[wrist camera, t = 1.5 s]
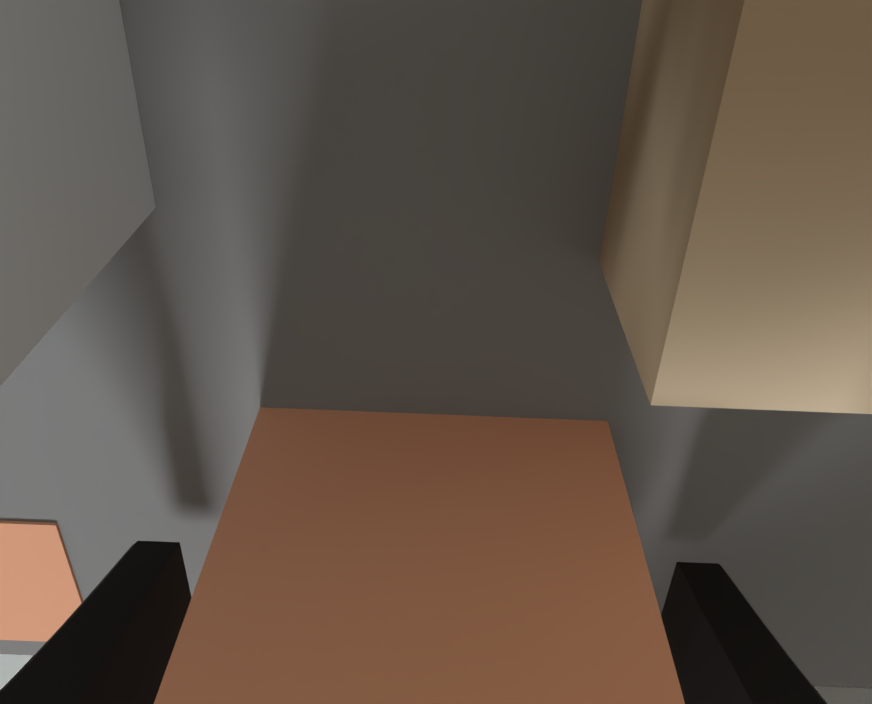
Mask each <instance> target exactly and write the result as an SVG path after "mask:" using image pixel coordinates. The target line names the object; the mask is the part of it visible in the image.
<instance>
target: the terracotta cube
mask: <svg viewBox="0 0 872 704" xmlns="http://www.w3.org/2000/svg"><path fill="white" fill-rule="evenodd" d="M154 704H685V702H684V698H683V694H682V691H681V687H680V683H679V680H678V676H677V672H676V669H675V665H674V661H673V658H672V654H671V650H670V647H669V643H668V639H667V636H666V632H665V629H664V625H663V621H662V618H661V614H660V610H659V607H658V603H657V599H656V596H655V592H654V588H653V585H652V581H651V577H650V574H649V570H648V566H647V563H646V559H645V555H644V552H643V548H642V545H641V541H640V537H639V534H638V530H637V526H636V523H635V519H634V515H633V512H632V508H631V504H630V501H629V497H628V493H627V490H626V486H625V482H624V479H623V475H622V471H621V468H620V464H619V461H618V457H617V453H616V450H615V446H614V442H613V439H612V435H611V431H610V428H609V424H608V421H592V420H567V419H542V418H517V417H491V416H466V415H441V414H416V413H390V412H365V411H340V410H315V409H289V408H264V407H260V409H259V411H258V414H257V417H256V420H255V423H254V425H253V428H252V431H251V434H250V436H249V439H248V442H247V445H246V448H245V450H244V453H243V456H242V459H241V462H240V464H239V467H238V470H237V473H236V476H235V478H234V481H233V484H232V487H231V489H230V492H229V495H228V498H227V501H226V503H225V506H224V509H223V512H222V515H221V517H220V520H219V523H218V526H217V528H216V531H215V534H214V537H213V540H212V542H211V545H210V548H209V551H208V554H207V556H206V559H205V562H204V565H203V568H202V570H201V573H200V576H199V579H198V581H197V584H196V587H195V590H194V593H193V595H192V598H191V601H190V604H189V607H188V609H187V612H186V615H185V618H184V621H183V623H182V626H181V629H180V632H179V634H178V637H177V640H176V643H175V646H174V648H173V651H172V654H171V657H170V660H169V662H168V665H167V668H166V671H165V674H164V676H163V679H162V682H161V685H160V687H159V690H158V693H157V696H156V699H155V701H154Z"/></svg>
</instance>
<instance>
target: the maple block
mask: <svg viewBox="0 0 872 704" xmlns="http://www.w3.org/2000/svg"><path fill="white" fill-rule="evenodd" d="M599 264H600V267H601V269H602V272H603V275H604V278H605V280H606V283H607V286H608V289H609V292H610V294H611V297H612V300H613V303H614V305H615V308H616V311H617V314H618V317H619V319H620V322H621V325H622V328H623V330H624V333H625V336H626V339H627V341H628V344H629V347H630V350H631V353H632V355H633V358H634V361H635V364H636V366H637V369H638V372H639V375H640V377H641V380H642V383H643V386H644V389H645V391H646V394H647V397H648V400H649V402H650V405H655V406H680V407H705V408H730V409H756V410H781V411H806V412H831V413H857V414H872V0H642V6H641V12H640V18H639V24H638V30H637V36H636V42H635V48H634V54H633V60H632V66H631V72H630V78H629V84H628V90H627V96H626V102H625V108H624V114H623V120H622V126H621V132H620V138H619V144H618V151H617V157H616V163H615V169H614V175H613V181H612V187H611V193H610V199H609V205H608V211H607V217H606V223H605V229H604V235H603V241H602V247H601V253H600V259H599Z"/></svg>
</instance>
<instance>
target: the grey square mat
mask: <svg viewBox="0 0 872 704" xmlns="http://www.w3.org/2000/svg"><path fill="white" fill-rule="evenodd" d="M119 2H120V7H121V13H122V19H123V25H124V30H125V36H126V42H127V47H128V53H129V59H130V64H131V70H132V76H133V81H134V87H135V93H136V98H137V104H138V110H139V115H140V121H141V127H142V133H143V138H144V144H145V150H146V155H147V161H148V167H149V172H150V178H151V184H152V189H153V195H154V201H155V206H156V208H155V209H154V210H153V211H152V212H151V214H150V215H149V216H148V217H147V218H146V219H145V220H144V222H143V223H142V224H141V225H140V226H139V227H138V229H137V230H136V231H135V232H134V233H133V234H132V235H131V237H130V238H129V239H128V240H127V241H126V242H125V244H124V245H123V246H122V247H121V248H120V249H119V250H118V252H117V253H116V254H115V255H114V256H113V257H112V258H111V260H110V261H109V262H108V263H107V264H106V265H105V267H104V268H103V269H102V270H101V271H100V272H99V273H98V275H97V276H96V277H95V278H94V279H93V280H92V281H91V283H90V284H89V285H88V286H87V287H86V288H85V290H84V291H83V292H82V293H81V294H80V295H79V296H78V298H77V299H76V300H75V301H74V302H73V303H72V304H71V306H70V307H69V308H68V309H67V310H66V311H65V313H64V314H63V315H62V316H61V317H60V318H59V319H58V321H57V322H56V323H55V324H54V325H53V326H52V327H51V329H50V330H49V331H48V332H47V333H46V334H45V336H44V337H43V338H42V339H41V340H40V341H39V342H38V344H37V345H36V346H35V347H34V348H33V349H32V350H31V352H30V353H29V354H28V355H27V356H26V357H25V359H24V360H23V361H22V362H21V363H20V364H19V365H18V367H17V368H16V369H15V370H14V371H13V372H12V373H11V375H10V376H9V377H8V378H7V379H6V380H5V382H4V383H3V384H2V385H1V386H0V654H18V655H35V654H36V653H37V652H38V651H39V649H40V648H41V647H42V646H43V645H44V644H45V643H46V642H47V641H48V640H49V639H50V638H51V637H52V635H53V634H54V633H55V632H56V631H57V630H58V629H59V628H60V627H61V626H62V625H63V624H64V623H65V621H66V620H67V619H68V618H69V617H70V616H71V615H72V614H73V612H74V611H75V610H76V609H77V608H78V607H79V606H80V605H81V603H82V602H83V601H84V600H85V599H86V598H87V597H88V596H89V594H90V593H91V592H92V591H93V590H94V589H95V588H96V586H97V585H98V584H99V583H100V582H101V581H102V580H103V578H104V577H105V576H106V575H107V574H108V573H109V571H110V570H111V569H112V568H113V567H114V566H115V565H116V563H117V562H118V561H119V560H120V559H121V558H122V556H123V555H124V554H125V553H126V552H127V551H128V549H129V548H130V547H131V546H132V545H133V544H135V543H136V542H137V541H160V542H180V546H181V550H182V555H183V560H184V564H185V569H186V574H187V579H188V583H189V588H190V593H191V598H192V595H193V593H194V590H195V587H196V584H197V581H198V579H199V576H200V573H201V570H202V568H203V565H204V562H205V559H206V556H207V554H208V551H209V548H210V545H211V542H212V540H213V537H214V534H215V531H216V528H217V526H218V523H219V520H220V517H221V515H222V512H223V509H224V506H225V503H226V501H227V498H228V495H229V492H230V489H231V487H232V484H233V481H234V478H235V476H236V473H237V470H238V467H239V464H240V462H241V459H242V456H243V453H244V450H245V448H246V445H247V442H248V439H249V436H250V434H251V431H252V428H253V425H254V423H255V420H256V417H257V414H258V411H259V409H260V407H264V408H289V409H315V410H340V411H365V412H390V413H416V414H441V415H466V416H491V417H517V418H542V419H567V420H592V421H608V424H609V428H610V431H611V435H612V439H613V442H614V446H615V450H616V453H617V457H618V461H619V464H620V468H621V471H622V475H623V479H624V482H625V486H626V490H627V493H628V497H629V501H630V504H631V508H632V512H633V515H634V519H635V523H636V526H637V530H638V534H639V537H640V541H641V545H642V548H643V552H644V555H645V559H646V563H647V566H648V570H649V574H650V577H651V581H652V585H653V588H654V592H655V596H656V599H657V603H658V607H659V610H660V614H661V613H662V610H663V607H664V603H665V600H666V596H667V593H668V590H669V586H670V583H671V580H672V576H673V573H674V570H675V566H676V563H677V562H693V563H718V564H720V565H721V566H722V567H723V569H724V570H725V571H726V572H727V574H728V575H729V576H730V578H731V579H732V581H733V582H734V583H735V585H736V586H737V587H738V589H739V590H740V591H741V593H742V594H743V595H744V597H745V598H746V600H747V601H748V602H749V604H750V605H751V606H752V608H753V609H754V610H755V612H756V613H757V614H758V616H759V617H760V618H761V620H762V621H763V622H764V624H765V625H766V626H767V628H768V629H769V630H770V632H771V633H772V634H773V636H774V637H775V638H776V640H777V641H778V642H779V644H780V645H781V646H782V647H783V649H784V650H785V651H786V653H787V654H788V655H789V657H790V658H791V659H792V660H793V662H794V663H795V664H796V666H797V667H798V668H799V669H800V671H801V672H802V673H803V674H804V676H805V677H806V678H807V679H808V681H809V682H810V683H811V684H812V685H813V686H830V687H855V688H872V414H857V413H831V412H806V411H781V410H756V409H730V408H705V407H680V406H655V405H650V402H649V400H648V397H647V394H646V391H645V389H644V386H643V383H642V380H641V377H640V375H639V372H638V369H637V366H636V364H635V361H634V358H633V355H632V353H631V350H630V347H629V344H628V341H627V339H626V336H625V333H624V330H623V328H622V325H621V322H620V319H619V317H618V314H617V311H616V308H615V305H614V303H613V300H612V297H611V294H610V292H609V289H608V286H607V283H606V280H605V278H604V275H603V272H602V269H601V267H600V264H599V259H600V253H601V247H602V241H603V235H604V229H605V223H606V217H607V211H608V205H609V199H610V193H611V187H612V181H613V175H614V169H615V163H616V157H617V151H618V144H619V138H620V132H621V126H622V120H623V114H624V108H625V102H626V96H627V90H628V84H629V78H630V72H631V66H632V60H633V54H634V48H635V42H636V36H637V30H638V24H639V18H640V12H641V6H642V0H119Z"/></svg>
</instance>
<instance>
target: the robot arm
mask: <svg viewBox="0 0 872 704" xmlns="http://www.w3.org/2000/svg"><path fill="white" fill-rule="evenodd" d="M190 601H191V593H190V588H189V583H188V579H187V574H186V569H185V564H184V560H183V555H182V550H181V546H180V542H160V541H137V542H136V543H135V544H133V545H132V546H131V547H130V548H129V549H128V551H127V552H126V553H125V554H124V555H123V556H122V558H121V559H120V560H119V561H118V562H117V563H116V565H115V566H114V567H113V568H112V569H111V570H110V571H109V573H108V574H107V575H106V576H105V577H104V578H103V580H102V581H101V582H100V583H99V584H98V585H97V586H96V588H95V589H94V590H93V591H92V592H91V593H90V594H89V596H88V597H87V598H86V599H85V600H84V601H83V602H82V603H81V605H80V606H79V607H78V608H77V609H76V610H75V611H74V612H73V614H72V615H71V616H70V617H69V618H68V619H67V620H66V621H65V623H64V624H63V625H62V626H61V627H60V628H59V629H58V630H57V631H56V632H55V633H54V634H53V635H52V637H51V638H50V639H49V640H48V641H47V642H46V643H45V644H44V645H43V646H42V647H41V648H40V649H39V651H38V652H37V653H36V654H35V655H34V656H33V657H32V658H31V659H30V660H29V661H28V662H27V663H26V664H25V666H24V667H23V668H22V669H21V670H20V671H19V672H18V673H17V674H16V675H15V676H14V677H13V678H12V679H11V680H10V681H9V682H8V683H7V684H6V685H5V686H4V687H3V688H2V689H1V690H0V704H154V701H155V699H156V696H157V693H158V690H159V687H160V685H161V682H162V679H163V676H164V674H165V671H166V668H167V665H168V662H169V660H170V657H171V654H172V651H173V648H174V646H175V643H176V640H177V637H178V634H179V632H180V629H181V626H182V623H183V621H184V618H185V615H186V612H187V609H188V607H189V604H190ZM661 618H662V621H663V625H664V629H665V632H666V636H667V639H668V643H669V647H670V650H671V654H672V658H673V661H674V665H675V669H676V672H677V676H678V680H679V683H680V687H681V691H682V694H683V698H684V702H685V704H827V703H826V701H825V700H824V699H823V698H822V697H821V695H820V694H819V693H818V692H817V690H816V689H815V688H814V687H813V685H812V684H811V683H810V682H809V681H808V679H807V678H806V677H805V676H804V674H803V673H802V672H801V671H800V669H799V668H798V667H797V666H796V664H795V663H794V662H793V660H792V659H791V658H790V657H789V655H788V654H787V653H786V651H785V650H784V649H783V647H782V646H781V645H780V644H779V642H778V641H777V640H776V638H775V637H774V636H773V634H772V633H771V632H770V630H769V629H768V628H767V626H766V625H765V624H764V622H763V621H762V620H761V618H760V617H759V616H758V614H757V613H756V612H755V610H754V609H753V608H752V606H751V605H750V604H749V602H748V601H747V600H746V598H745V597H744V595H743V594H742V593H741V591H740V590H739V589H738V587H737V586H736V585H735V583H734V582H733V581H732V579H731V578H730V576H729V575H728V574H727V572H726V571H725V570H724V569H723V567H722V566H721V565H720V564H718V563H693V562H677V563H676V566H675V570H674V573H673V576H672V580H671V583H670V586H669V590H668V593H667V596H666V600H665V603H664V607H663V610H662V613H661Z"/></svg>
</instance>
